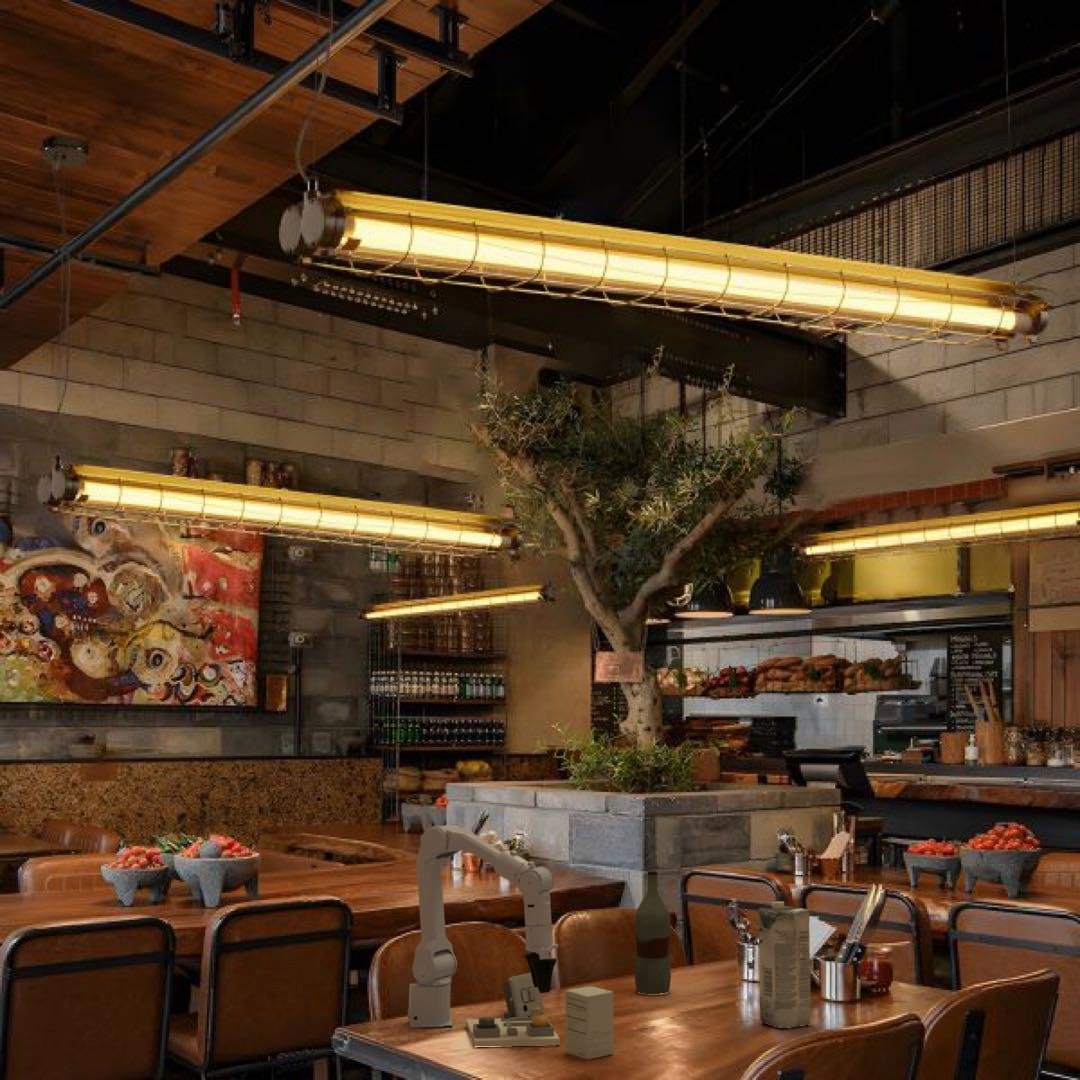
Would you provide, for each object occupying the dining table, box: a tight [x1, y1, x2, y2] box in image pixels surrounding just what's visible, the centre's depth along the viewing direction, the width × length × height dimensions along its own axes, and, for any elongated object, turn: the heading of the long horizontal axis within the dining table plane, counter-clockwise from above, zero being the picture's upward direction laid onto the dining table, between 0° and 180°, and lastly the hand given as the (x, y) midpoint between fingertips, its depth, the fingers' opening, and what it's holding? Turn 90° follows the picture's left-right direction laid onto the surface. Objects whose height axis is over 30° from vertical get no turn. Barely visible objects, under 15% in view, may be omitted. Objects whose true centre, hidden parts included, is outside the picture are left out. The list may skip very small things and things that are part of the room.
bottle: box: [634, 869, 672, 994], centre depth 340 cm, size 9×9×30 cm
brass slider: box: [529, 1007, 542, 1022], centre depth 298 cm, size 2×3×3 cm, turn 8°
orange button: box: [532, 1015, 549, 1027], centre depth 288 cm, size 3×3×2 cm
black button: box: [478, 1016, 496, 1028], centre depth 286 cm, size 3×3×2 cm
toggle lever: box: [502, 1011, 512, 1030], centre depth 287 cm, size 2×2×4 cm
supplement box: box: [564, 985, 615, 1061], centre depth 278 cm, size 7×7×13 cm
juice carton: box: [757, 901, 812, 1028], centre depth 306 cm, size 9×10×27 cm
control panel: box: [465, 1016, 561, 1047], centre depth 292 cm, size 18×20×3 cm
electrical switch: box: [502, 972, 545, 1017], centre depth 313 cm, size 9×5×9 cm, turn 141°
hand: (541, 989), depth 290 cm, fingers open, 7 cm apart
